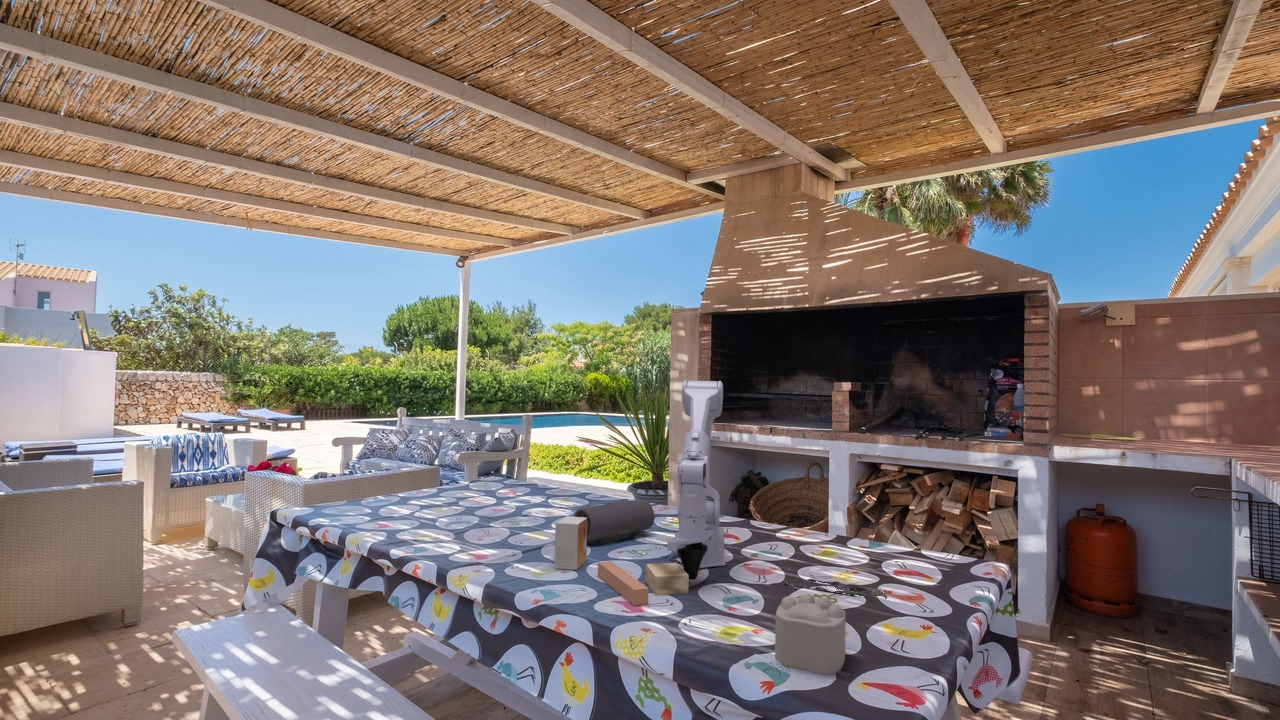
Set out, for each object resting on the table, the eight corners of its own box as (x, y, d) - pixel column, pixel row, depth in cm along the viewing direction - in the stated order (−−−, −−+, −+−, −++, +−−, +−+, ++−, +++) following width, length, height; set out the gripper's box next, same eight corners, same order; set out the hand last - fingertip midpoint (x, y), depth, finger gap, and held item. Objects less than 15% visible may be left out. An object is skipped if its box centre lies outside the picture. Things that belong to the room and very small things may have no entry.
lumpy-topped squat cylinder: (769, 663, 99) (770, 606, 99) (787, 634, 110) (788, 584, 111) (838, 678, 94) (839, 619, 95) (850, 646, 106) (851, 594, 106)
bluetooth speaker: (633, 530, 186) (634, 495, 186) (655, 536, 179) (656, 500, 179) (570, 541, 170) (571, 504, 171) (591, 549, 163) (593, 510, 164)
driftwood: (889, 596, 134) (889, 585, 134) (885, 605, 128) (885, 594, 128) (791, 580, 144) (791, 571, 144) (783, 589, 138) (783, 579, 138)
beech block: (676, 581, 139) (677, 562, 139) (688, 594, 130) (688, 575, 131) (645, 582, 138) (646, 563, 138) (655, 596, 129) (655, 576, 129)
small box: (577, 571, 144) (578, 524, 144) (553, 569, 145) (554, 522, 145) (587, 561, 152) (588, 517, 152) (564, 559, 153) (565, 515, 153)
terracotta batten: (610, 574, 142) (610, 561, 142) (648, 603, 124) (648, 588, 124) (597, 575, 141) (598, 562, 141) (634, 605, 122) (634, 590, 122)
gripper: (696, 508, 145) (695, 568, 145) (656, 517, 134) (655, 581, 134) (722, 512, 141) (721, 574, 140) (683, 522, 130) (681, 589, 129)
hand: (690, 578), depth 137 cm, fingers closed
